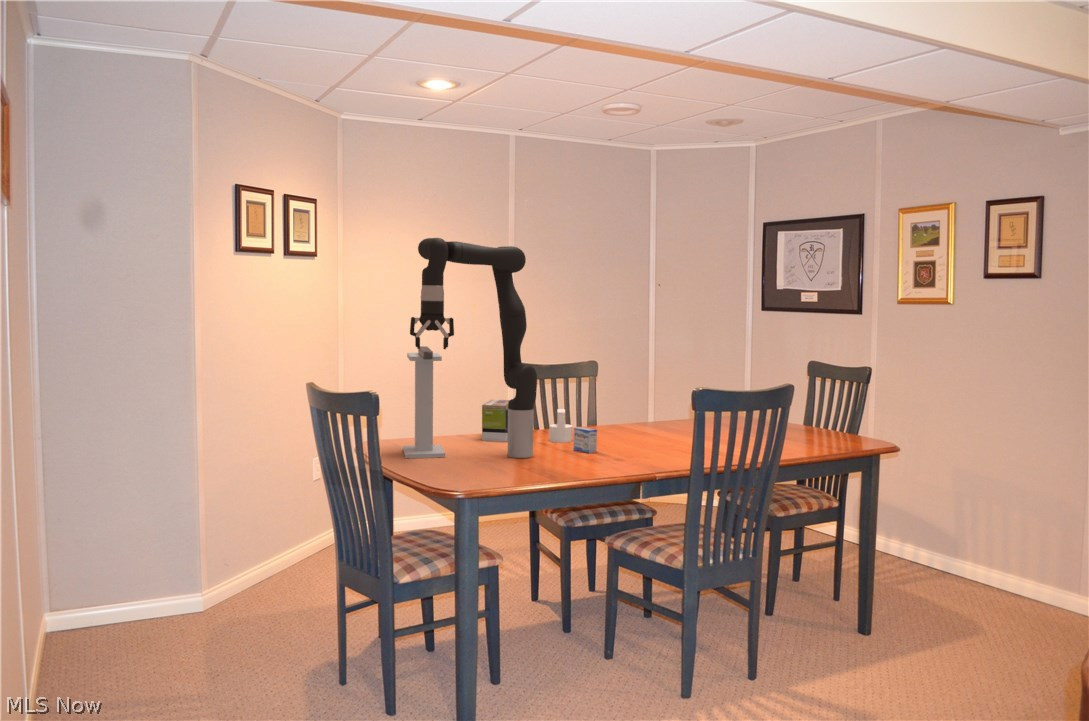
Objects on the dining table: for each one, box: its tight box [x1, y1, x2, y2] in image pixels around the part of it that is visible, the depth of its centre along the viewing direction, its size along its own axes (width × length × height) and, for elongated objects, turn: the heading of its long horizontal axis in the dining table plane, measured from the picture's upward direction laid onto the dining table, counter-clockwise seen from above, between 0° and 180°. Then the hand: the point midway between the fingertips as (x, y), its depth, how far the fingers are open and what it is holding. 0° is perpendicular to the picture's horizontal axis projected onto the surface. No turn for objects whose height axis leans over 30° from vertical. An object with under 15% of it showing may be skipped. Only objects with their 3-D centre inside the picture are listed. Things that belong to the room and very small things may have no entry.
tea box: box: [481, 399, 510, 443], centre depth 347 cm, size 15×10×15 cm, turn 168°
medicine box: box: [573, 426, 598, 454], centre depth 324 cm, size 8×4×9 cm, turn 47°
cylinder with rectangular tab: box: [548, 408, 573, 444], centre depth 344 cm, size 9×9×12 cm
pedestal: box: [402, 352, 446, 459], centre depth 313 cm, size 16×14×36 cm
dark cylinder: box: [417, 345, 434, 359], centre depth 306 cm, size 27×3×2 cm, turn 13°
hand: (431, 349), depth 285 cm, fingers open, 8 cm apart
